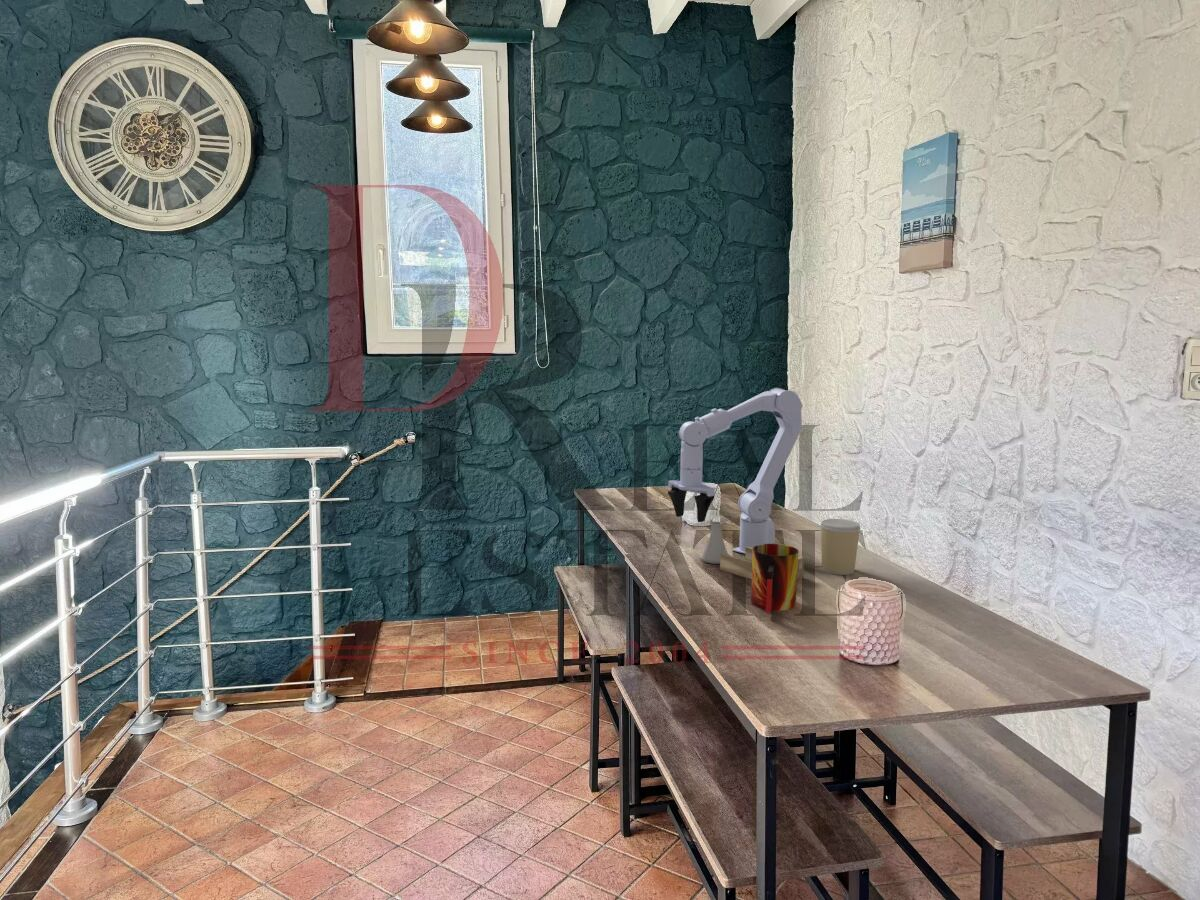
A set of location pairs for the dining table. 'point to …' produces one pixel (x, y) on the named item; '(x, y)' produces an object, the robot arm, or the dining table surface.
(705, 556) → the flask
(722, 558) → the lane
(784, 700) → the dining table surface
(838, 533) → the coffee cup
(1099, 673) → the dining table surface
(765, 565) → the mug
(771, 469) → the robot arm
